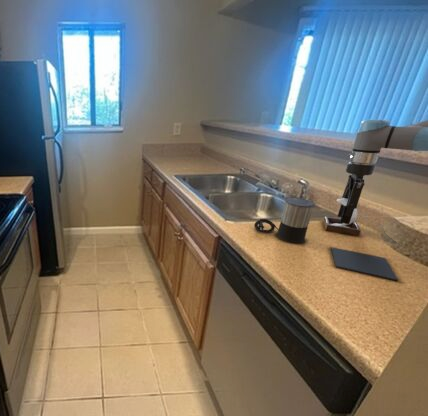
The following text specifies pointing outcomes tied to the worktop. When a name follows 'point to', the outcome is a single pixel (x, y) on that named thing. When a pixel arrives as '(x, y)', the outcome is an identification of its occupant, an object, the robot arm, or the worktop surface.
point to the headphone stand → (354, 215)
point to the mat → (363, 263)
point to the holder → (351, 231)
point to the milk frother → (291, 220)
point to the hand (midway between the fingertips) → (343, 219)
